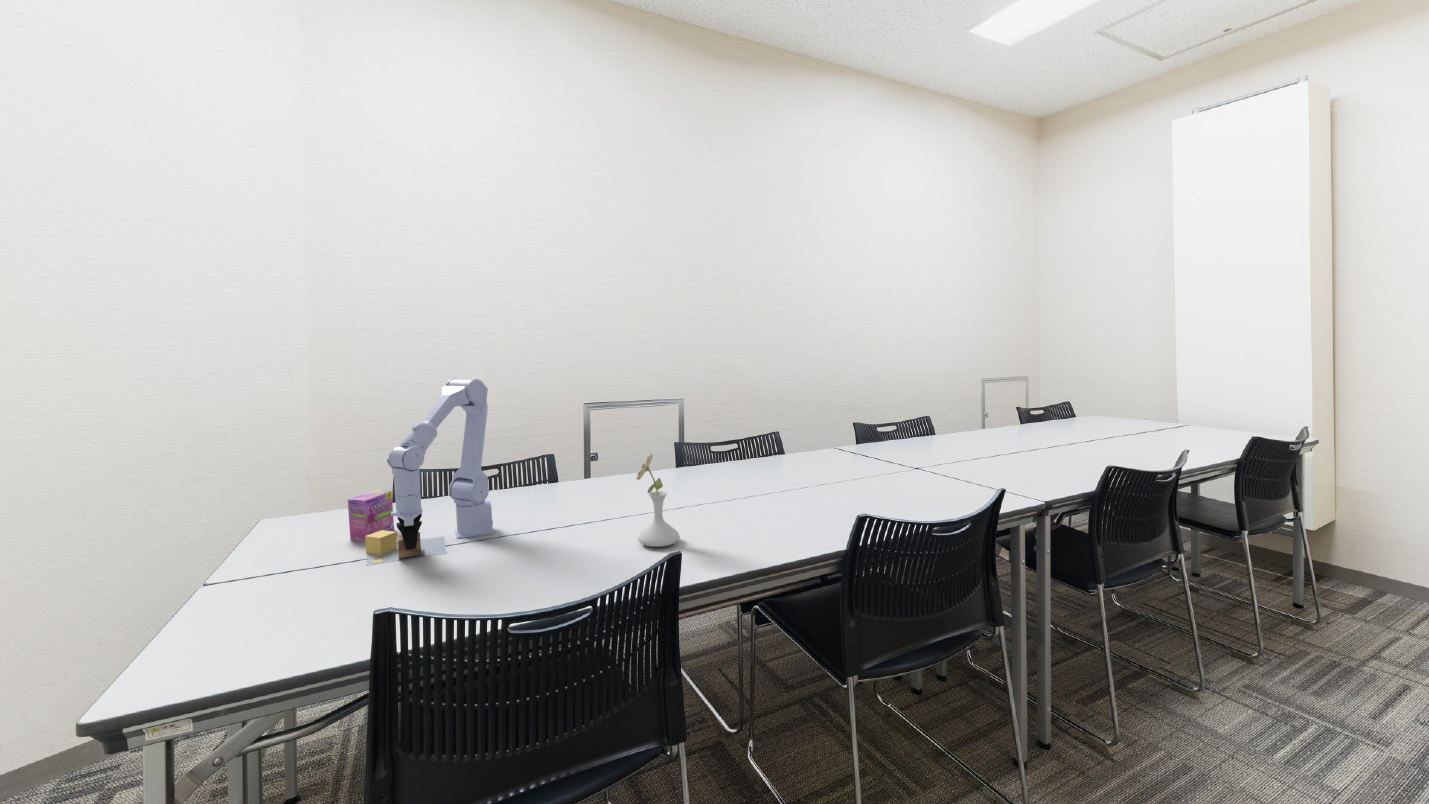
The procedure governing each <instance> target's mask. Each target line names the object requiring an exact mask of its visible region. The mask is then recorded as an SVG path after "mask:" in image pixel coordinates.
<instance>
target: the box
mask: <svg viewBox="0 0 1429 804" xmlns="http://www.w3.org/2000/svg"><path fill="white" fill-rule="evenodd" d="M393 502H394V501H393V491H392V490H387V489H386V490H385V489H375V490H371V491H369V492H366V493H363V494H360V495H357V496H354V497H351V498H349V499H347V509H348V520H349V521H348V522H349V524H348V525H349V538H350V541H359V542H360V541H361V542H366V540H365V536H367V535H370V534H372V533H375V532H378V531H381V530H385V531H393V530H395V521H394V516H391V512H392V511H394V504H393Z"/></svg>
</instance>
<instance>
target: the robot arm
mask: <svg viewBox="0 0 1429 804" xmlns="http://www.w3.org/2000/svg"><path fill="white" fill-rule="evenodd" d="M487 399H488V386H486V385H485V384H484V382H483V381H482V380H481V379H478V378H474V379H473V378H472V379H466V378H465V379H464V378H454V377H453V378H450V379H449V380H448V381H446V383H445V385H443V387H442V388H441V395H440V397H439V398H438V400H437V401H436V403H435V405H434V406H433V408H432V409H431V410H430V413H429V414H428V416H427V417H426V418H425V419H424V421H419V422H417V423H416V424H413V426H412V427H411V429H412V430H410V432H409V434H408V435H407V436H406V437H405V438H404V440H402V441H401V442H400V445H399V446H397V447H394V448H392V450H391V451H390V452H389V454H388V458H387V459H386V462H387V465H388V466H389V468H390V469H391V472H392V473H391V474H393V482H394V483H393V485H394V499H395V510H393V511H392V512H391V516H393V517H394V516H395V517H397V520H398V522H396V527H397V529H398V531H399V533H400V535H402V537H403V540H404V544H405V547H406V550H409V549H415V548H416V544H417V536H418V532H420V529H421V527H422V523H423V521H422V520H421V518H422V517H423V508H422V497H421V495H422V494H421V480H420V479H421V478H420V477H421V476H420V468H421V466H423V464H424V462H425V455H426V453H427V450H428V448H429V447H430V446H431V444H432V443H433V442H434V441H435V439H436V438H437V437H438V430H437V428H439V426H440V425H441V424H442V423H443V421H445V419H446V418H447V417H448V415H449V414H450V413H451V412H452V411H453V410H454V409H455V408H456V407H461V408H462V410H463V411H464V412H465V413H466V415H465V424H464V431H463V432H464V433H463V440H462V441H463V442H462V451H461V460H460V467H459V468H458V469H457V470H456V471H455V472H453V475H452V480H451V482H450V484H449V485H448V486H449V487H448V495H449V497H450V498H451V499H452V500H453V504H455V515H456V529H455V530H454V532H455V537H456V539H458V540H459V539H465V538H472V537H477V536H487V535H492V534H493V533H494V532H493V525H494V521H493V515H492V514H493V513H492V511H493V510H492V503H491V500H487V498H488V495H489V491H490V488H489V485H488V478H489V477H488V476H487V474H486V473H485V472H484V471H483V470H482V462H483V453H484V445H485V435H486V428H487V427H486V426H487V420H488V410H489V409H488V407H489V406H488V401H487Z"/></svg>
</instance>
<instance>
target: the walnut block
mask: <svg viewBox="0 0 1429 804" xmlns="http://www.w3.org/2000/svg"><path fill="white" fill-rule="evenodd" d="M397 543H398V552H399V558H404V557H410V556H417V555H421V531H418V536H417V544H416V548H415V549H409V550H406V547H405V544H404V540H403V537H402V534H398V535H397Z"/></svg>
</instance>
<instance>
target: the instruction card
mask: <svg viewBox="0 0 1429 804" xmlns="http://www.w3.org/2000/svg"><path fill="white" fill-rule="evenodd" d="M445 539H446V538H445V536H444V535H443V536H436V537H430V538H429V537H428V538H422V539H421V538H420V540H421V555H417V556H410V557H404V558H399V552H398V542H397V549H395V550H392V551H390V552H388V553H385V554H383V555H377V554H370V553H367V554H368V555H367V559H366V563H365V566H366V567H368V566H375V565H380V564H386V563H395V562H400V561H402V562H403V561H407V560H415V559H420V558H428V557H433V556H440V555H446V554H447V549H446V547H447V546H446V540H445Z"/></svg>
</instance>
